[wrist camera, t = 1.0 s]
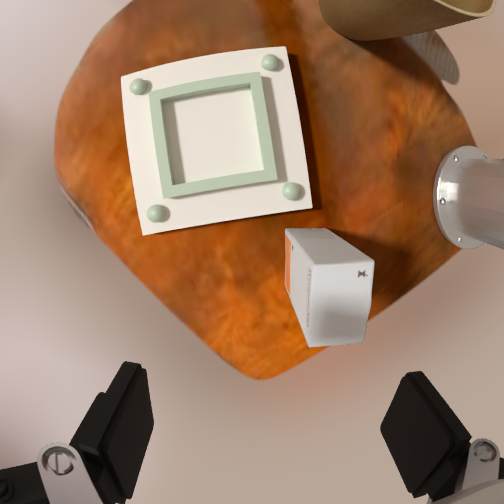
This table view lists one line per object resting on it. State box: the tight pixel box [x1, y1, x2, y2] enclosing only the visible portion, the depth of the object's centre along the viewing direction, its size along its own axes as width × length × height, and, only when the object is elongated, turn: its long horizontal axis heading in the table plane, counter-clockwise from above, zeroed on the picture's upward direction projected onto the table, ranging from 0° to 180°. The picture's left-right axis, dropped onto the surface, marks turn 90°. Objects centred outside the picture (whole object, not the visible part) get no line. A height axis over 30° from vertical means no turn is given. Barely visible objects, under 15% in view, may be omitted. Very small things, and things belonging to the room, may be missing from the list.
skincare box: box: [285, 228, 375, 347], centre depth 24 cm, size 6×4×12 cm
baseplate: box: [121, 47, 312, 235], centre depth 25 cm, size 16×16×3 cm
